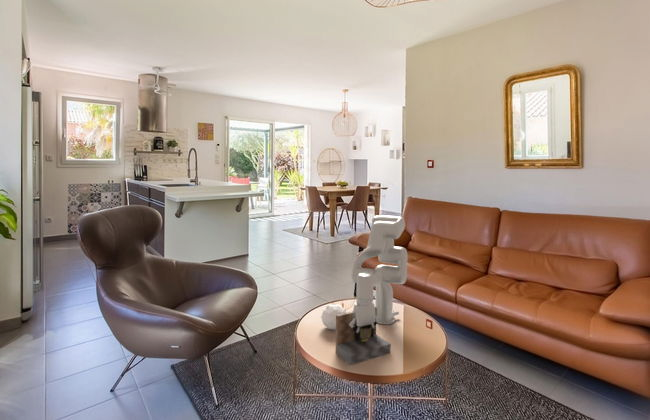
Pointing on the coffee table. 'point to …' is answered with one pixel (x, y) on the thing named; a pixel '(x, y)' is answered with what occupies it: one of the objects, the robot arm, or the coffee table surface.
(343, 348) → the board
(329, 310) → the geodesic sphere
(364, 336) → the cup
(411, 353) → the coffee table surface
